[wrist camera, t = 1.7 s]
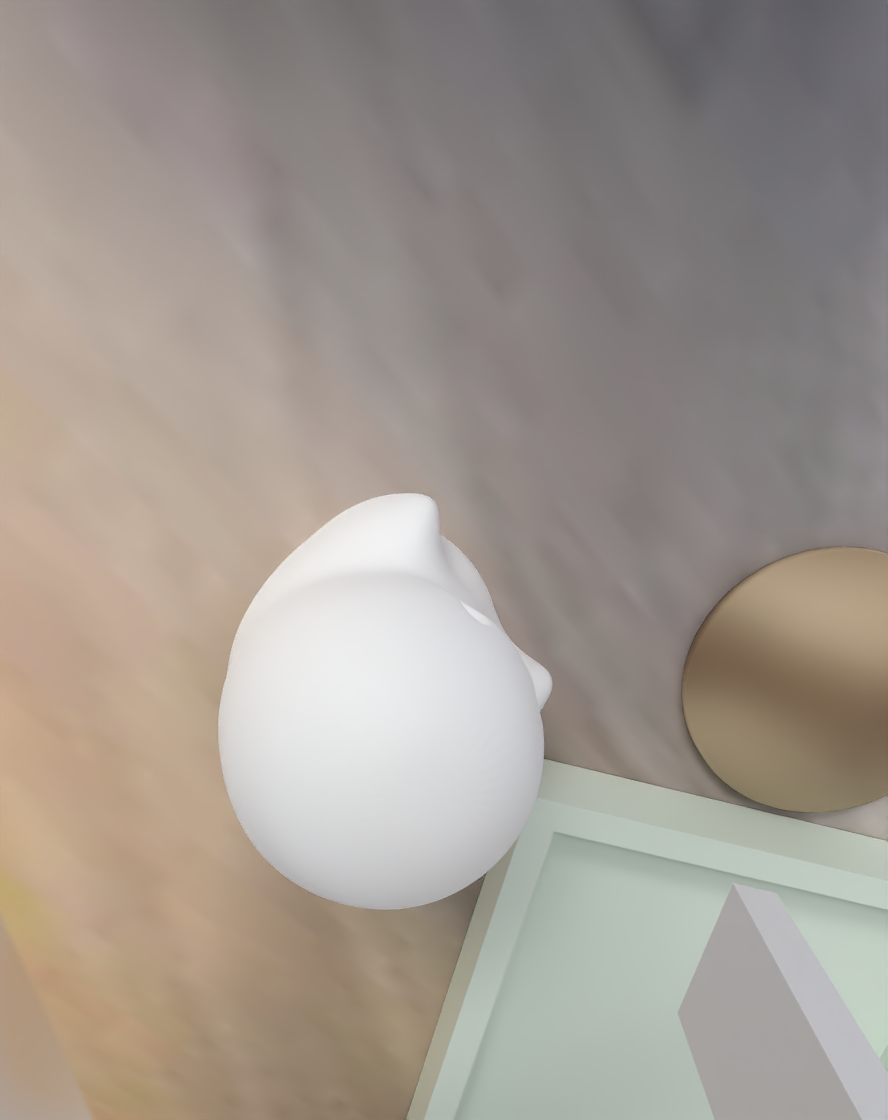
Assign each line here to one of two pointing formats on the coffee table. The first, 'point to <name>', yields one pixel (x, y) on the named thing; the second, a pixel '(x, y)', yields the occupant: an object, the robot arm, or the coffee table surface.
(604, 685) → the coffee table surface
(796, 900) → the tray
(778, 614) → the metal coaster
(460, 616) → the figurine
